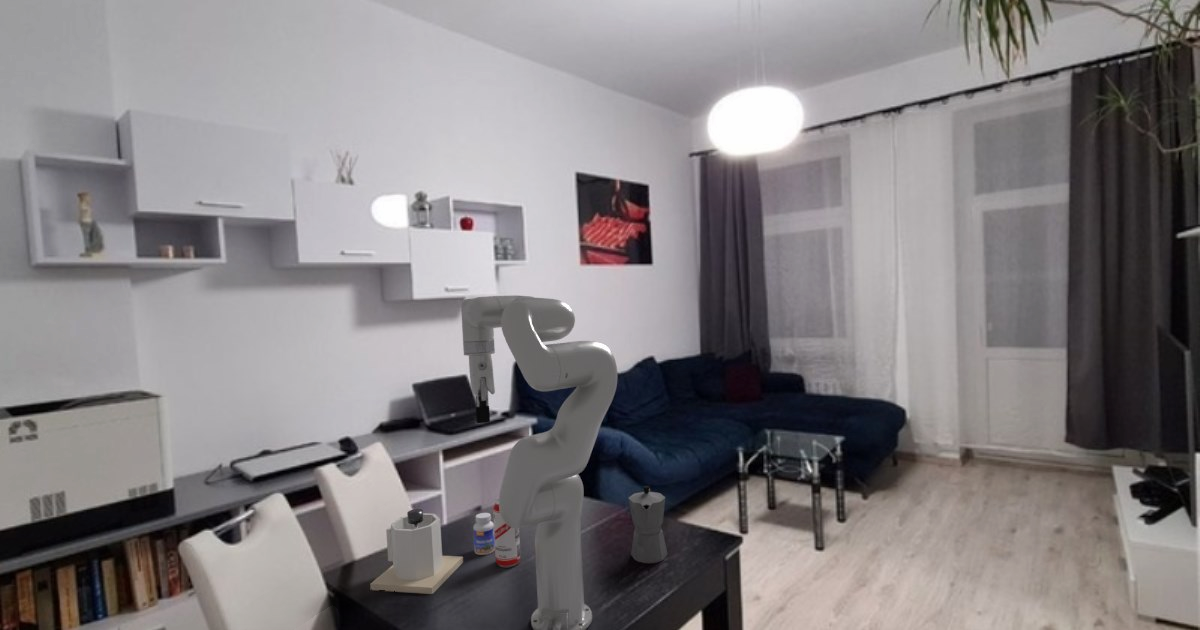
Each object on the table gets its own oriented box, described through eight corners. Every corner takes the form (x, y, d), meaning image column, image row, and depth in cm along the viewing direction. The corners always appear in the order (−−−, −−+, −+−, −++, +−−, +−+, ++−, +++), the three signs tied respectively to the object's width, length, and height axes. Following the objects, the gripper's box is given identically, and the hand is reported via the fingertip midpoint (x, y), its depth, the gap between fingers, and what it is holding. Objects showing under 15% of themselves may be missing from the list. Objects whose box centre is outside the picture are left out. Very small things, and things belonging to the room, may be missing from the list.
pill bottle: (475, 557, 152) (473, 520, 152) (474, 548, 158) (472, 513, 157) (496, 553, 154) (494, 517, 153) (494, 545, 159) (492, 510, 159)
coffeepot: (668, 567, 141) (665, 494, 141) (629, 567, 142) (626, 495, 142) (667, 541, 157) (664, 475, 156) (632, 541, 157) (629, 475, 157)
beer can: (515, 569, 144) (512, 505, 144) (492, 568, 145) (488, 505, 145) (524, 558, 150) (520, 497, 150) (501, 557, 152) (498, 496, 151)
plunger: (425, 577, 138) (421, 518, 138) (393, 575, 140) (390, 517, 140) (442, 561, 147) (438, 505, 146) (411, 559, 148) (408, 505, 148)
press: (432, 594, 134) (429, 536, 133) (370, 589, 137) (367, 533, 137) (463, 562, 149) (460, 510, 149) (406, 559, 153) (403, 508, 152)
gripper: (498, 349, 137) (502, 426, 138) (490, 345, 151) (494, 415, 152) (466, 351, 135) (470, 430, 135) (461, 347, 149) (465, 418, 149)
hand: (483, 421), depth 144 cm, fingers closed
